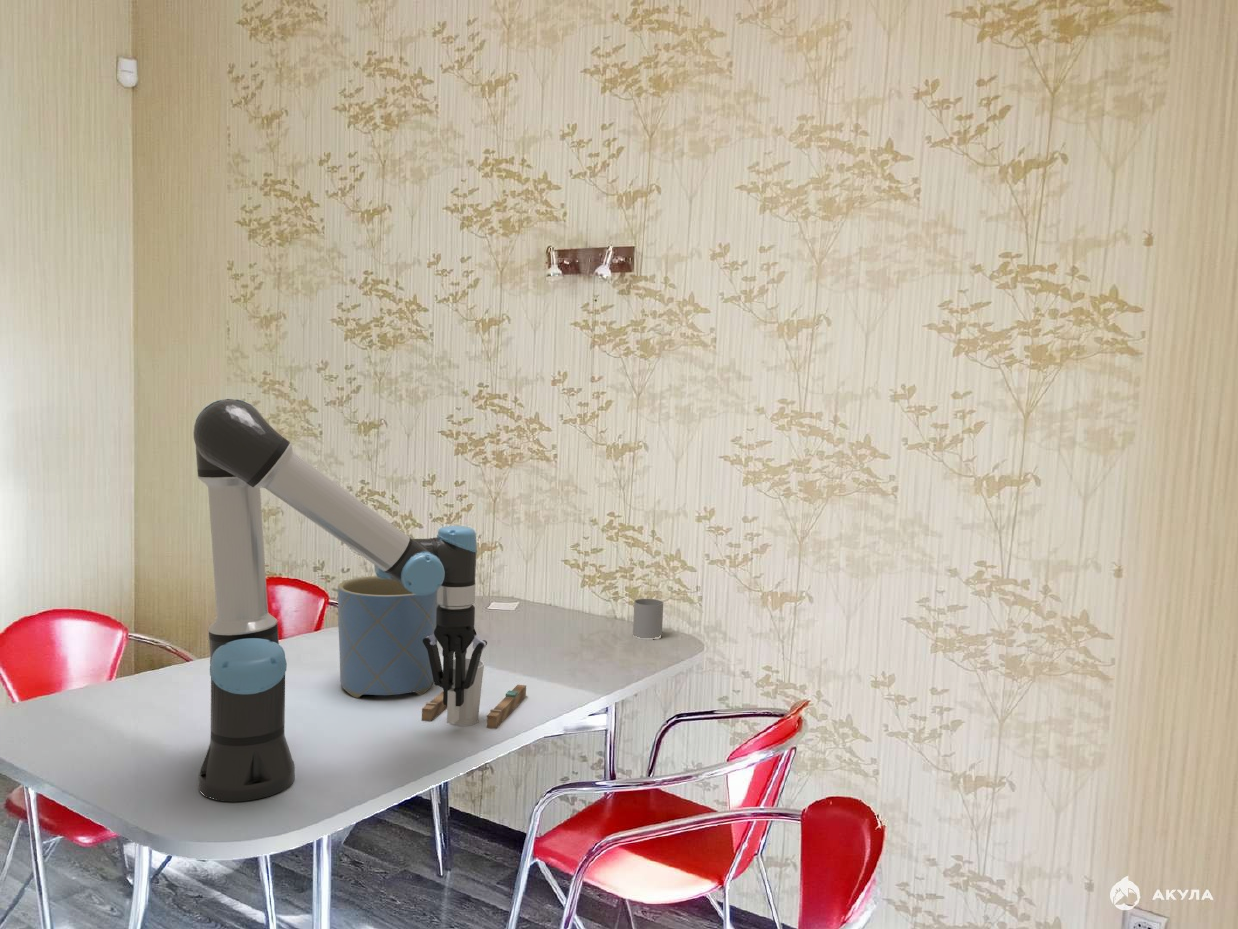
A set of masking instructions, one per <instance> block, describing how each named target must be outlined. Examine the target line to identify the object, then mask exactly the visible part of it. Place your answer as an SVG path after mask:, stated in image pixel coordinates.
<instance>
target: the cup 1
mask: <svg viewBox="0 0 1238 929" xmlns="http://www.w3.org/2000/svg"><path fill="white" fill-rule="evenodd" d="M470 660H471V657H466V665H465V678H466V675H467V671H468V667H469V663H470ZM455 663H456V658H453V683H454V684H453V685H452V687H455ZM484 668H485V662H484V661H483V660H481V659H480V661H479V665H478V669H477V672H476V676H475V680H474V683H473V685H472V686H471V687H469V688H468V689H464V703H463V704H462V705H461V706H459V720H458V721H456V722H455V723H454V724H452V723H449V724H450V725H453V726H458V727H467V726H472V725H475V724H477V723H479V714H480V705H481V704H480V703H481V697H482V696H481V694H482V685H483V678H484Z"/></svg>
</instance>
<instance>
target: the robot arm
mask: <svg viewBox="0 0 1238 929" xmlns="http://www.w3.org/2000/svg"><path fill="white" fill-rule="evenodd" d="M193 440H194V445H195V454H196V455H195V456H196V467H197V468H196V469H197V478H198V479H199V480H200V481H201V482H202V483H203V484H205V485H206V486H207V491H208V492H207V493H208V505H209V506H208V507H209V508H208V509H209V521H210V523H209V524H210V534H211V536H210V537H211V549H212V564H213V567H212V568H213V579H214V581H213V582H214V591H215V592H214V593H215V608H216V619H215V620H214V621H213V622H212V623H211V625H210V626H209V627H208V643H209V660H210V661H209V676H210V740H209V745H208V747H207V751H206V754H205V757H204V759H203V762H202V765H201V767H200V770H199V773H198V792H199V791H201V792H202V793H203V794H204V795H205V796H207V797H211V798H214V799H217V800H216V801H219V800H224V801H223V802H246V801H254V800H259V799H263V798H267V797H270V796H274V795H277V794H279V793H281V792H283V791H285V790H286V789H287V788H289V787H290V786H291V785H292V784H293V783H294V781H295V776H296V775H295V774H296V773H295V772H296V767H295V761H294V760H293V757H292V752H291V751H290V747H289V745H288V742H287V738H286V735H285V727H286V726H285V722H286V721H285V718H286V717H285V716H286V715H285V714H286V713H285V712H286V706H285V704H286V672H287V665H288V664H287V658H286V653H285V650H284V648H283V647H282V646H281V645H280V642H279V625H278V619H277V618H276V617H275V616H273V615H271V613H269V605H268V592H267V577H266V576H267V575H266V574H267V573H266V560H265V558H266V556H265V546H264V541H265V540H264V527H263V513H262V512H263V511H262V498H261V496H262V495H261V494H262V492H261V489H262V488H263V489H266V490H267V491H268V492H270V493H271V494H273V495H274V496H276V497H277V498H278V499H280V500H281V501H283V502H284V503H286V504H287V505H288V506H289V507H291V508H292V509H294V510H296V511H297V512H298V513H299V514H301V515H303V516H304V517H305V518H307V520H309V521H311V522H312V523H314V524H315V525H317V526H318V527H320V528H321V529H323V531H325V532H327V533H329V535H331V536H332V537H334V538H336V539H337V540H338V541H340V542H341V543H343V544H344V545H345V546H347V547H348V548H350V549H351V550H353V551H354V552H355V553H357V554H358V555H360V556H361V557H362V558H364V559H366V560H367V561H368V562H370V563H371V564H372V565H373V566H374V571H375V576H377V577H379V578H381V579H391V580H392V579H395V580H396V581H398V582H399V583H401V584H402V585H403V586H404V588H405V589H407V590H408V591H410V592H411V593H413V594H416V595H420V596H424V595H429V594H432V593H434V592H435V591H436V590H437V601H436V602H437V603H438V604H439V605H438V606H437V608H436V628H435V630H434V634H432V635H429V636H427V637H426V638H424V639H423V643H424V645H425V647H426V649H427V651H428V656H429V661H430V666H431V670H432V675H433V680H434V682H433V684H434V685H435V687H440V688H442V692H443V703H444V705H447V708H446V709H447V711H446V712H447V714H446V723H447V724H450V723H452V724H454V723H455V722H456V721H458V720H459V706H461V705H462V704H463V703H464V689H468V688H469V687H471V686H472V685H473V683H474V680H475V676H476V672H477V669H478V665H479V661H480V660H481V657H482V653H483V651H484V649H485V648H486V647H487V645H488V641H487V640H485V639H483V640H482V639H481V638H480V637H478V636H477V631H476V629H475V621H476V619H475V617H476V614H475V613H476V607H475V606H474V604H475V603H476V572H477V571H476V570H477V567H476V566H477V553H478V550H477V533H476V531H475V530H474V529H473V528H472V527H469V526H460V525H450V526H442V527H440V528H439V529H438V531H437V535H436V537H432V538H431V537H429V538H411V537H410V536H409V535H407V534H406V533H405V532H403V531H402V530H401V529H399V528H398V527H396V526H395V525H394V524H393V523H392V522H390V521H388V520H387V519H386V518H384V517H383V516H382V515H380V514H379V513H377V512H376V511H375V510H373V509H372V508H370V507H369V506H368V505H366V504H365V503H363V502H362V501H361V500H359V499H358V498H356V497H355V496H354V494H351V493H350V492H349V491H347V490H346V489H344V488H343V487H342V486H340V485H339V484H338V483H336V482H335V481H334V480H332V478H331V479H330V478H329V477H328V476H327V475H325V474H324V473H323V472H321V471H320V470H319V469H318V468H316V467H314V466H313V465H311V463H309V462H308V461H307V460H305V459H303V458H302V457H300V456H299V455H298V454H297V453H295V452H294V451H293V445H292V443H291V442H290V441H289V440H288V439H286V438H285V437H283V435H281V434H280V433H279V432H278V431H276V430H275V428H273V426H271V424H269V422H268V421H267V420H266V419H265V418H264V417H263V416H262V414H261V413H260V412H259V411H258V409H257V408H255V407H254V406H253V405H251V403H248V402H246V401H244V400H241V399H232V398H226V399H219V400H215V401H213V402H211V403H209V404H208V405H206V406H205V407H204V408H203V409H202V410H201V411H200V412H199V414H198V415H197V417H196V419H195V422H194V426H193ZM437 640H438V641H437ZM438 643H439V645H440V647H441V648H442V654H441V655H442V658H443V660H442V659H441V656H440V652H439V651H440V650H439V647H438ZM472 643H473V644H472ZM471 644H472V649H473V650H472V652H471V657H470V658H471V660H470V663H469V667H468V671H467V675H466V678H465V665H466V658H467V657H466V656H467V653H468V652H467V650H468V648H469V647H470V646H471ZM453 659H456V663H455V687H452V685H453V684H454V683H453ZM441 660H442V661H441ZM452 724H451V725H452ZM205 796H204V797H205ZM207 797H206V798H207ZM214 799H213V800H214Z"/></svg>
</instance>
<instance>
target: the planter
mask: <svg viewBox="0 0 1238 929" xmlns="http://www.w3.org/2000/svg"><path fill="white" fill-rule="evenodd" d="M436 601H437V590H436V591H435V592H434V593H432V594H429V595H424V596H420V595H416V594H413V593H411V592H410V591H408V590H407V589H405V588H404V586H403V585H402V584H401V583H399V582H398V581H396V580H395V579H392V580H391V579H381V578H379V577H377V575H373V576H372V575H371V576H361V577H356V578H352V579H348V580H344V581H342V582H340V583H339V584H338V586H337V616H338V617H337V618H338V619H337V621H338V623H337V624H338V642H339V643H338V646H339V648H338V649H339V678H340V679H339V680H340V684H341V687H342V689H343V690H345V692H347V693H348V695H350V696H352V697H354V698H357V699H359V698H361V696H364V695H371V696H372V695H374V696H395V695H402V694H403V695H405V694H409V693H415V694H417V695H418V696H421V695H424V694H425V693H426V692H427V691H428V690H429V689H430V688H431V686H432V685H433V684H434V680H433V675H432V670H431V666H430V661H429V656H428V651H427V649H426V647H425V645H424V643H423V639H424V638H426V637H427V636H429V635H432V634H434V630H435V628H436V608H437V606H438V605H439V604H438V603H437V602H436ZM437 642H438V640H437Z"/></svg>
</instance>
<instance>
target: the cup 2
mask: <svg viewBox="0 0 1238 929" xmlns="http://www.w3.org/2000/svg"><path fill="white" fill-rule="evenodd" d="M633 604H634V605H633V624H632V628H633V629H632V636H633V635H634V636H637V637H640V638H655V637H659V636H660V635H662V636H663V617H664V616H663V615H664V601H662V600H659V599H655V598H654V599H653V598H641V599H636V600H634V602H633Z"/></svg>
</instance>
